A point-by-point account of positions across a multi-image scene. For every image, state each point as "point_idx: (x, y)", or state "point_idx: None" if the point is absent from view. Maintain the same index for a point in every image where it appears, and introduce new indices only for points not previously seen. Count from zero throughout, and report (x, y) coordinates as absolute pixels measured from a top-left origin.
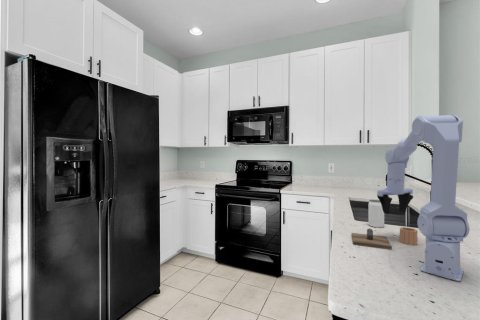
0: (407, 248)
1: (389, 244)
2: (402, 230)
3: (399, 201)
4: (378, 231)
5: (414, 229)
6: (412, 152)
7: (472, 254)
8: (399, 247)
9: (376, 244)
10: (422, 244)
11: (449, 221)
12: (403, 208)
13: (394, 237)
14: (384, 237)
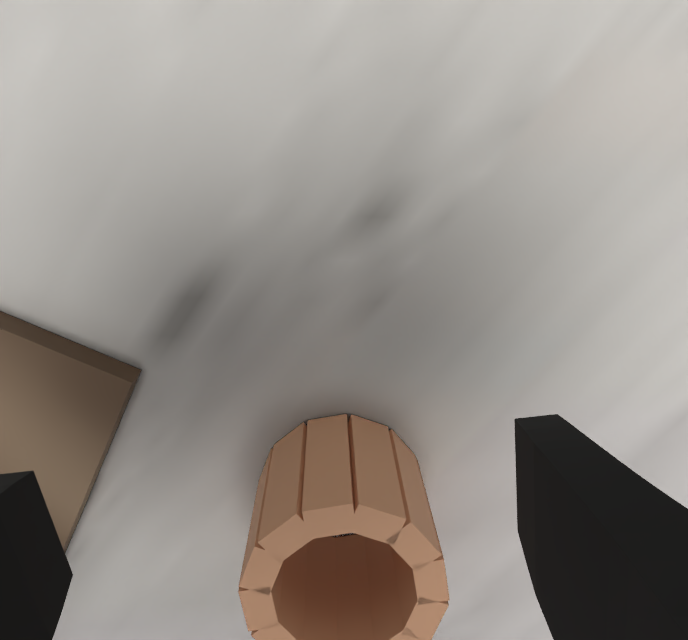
0: (200, 631)
1: None
2: (244, 598)
3: (646, 618)
4: (253, 13)
5: (427, 603)
6: None
7: None
8: (136, 608)
9: None
10: (450, 539)
11: None
12: (551, 595)
13: (306, 310)
14: (95, 419)
